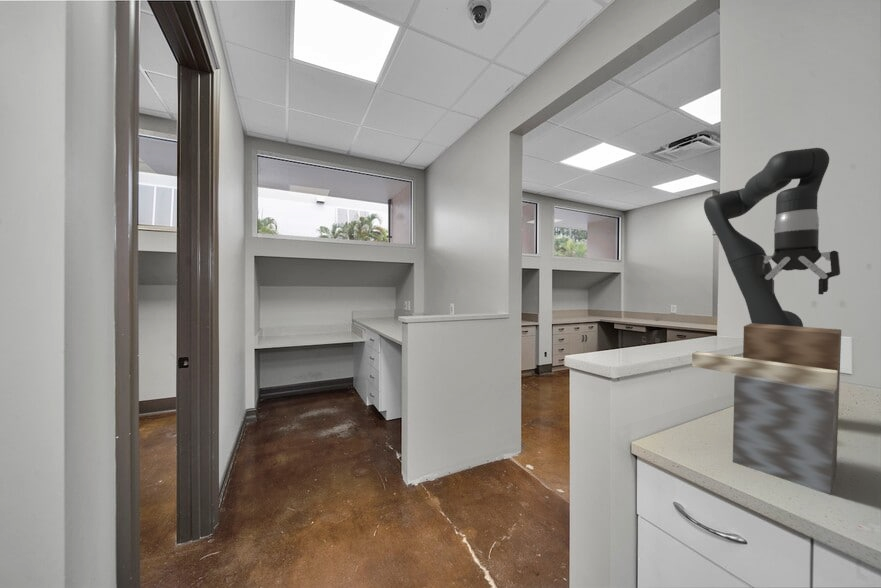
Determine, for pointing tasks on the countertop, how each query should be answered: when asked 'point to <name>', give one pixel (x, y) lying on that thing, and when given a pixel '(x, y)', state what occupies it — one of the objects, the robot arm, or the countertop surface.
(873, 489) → the countertop surface
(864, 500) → the countertop surface
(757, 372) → the ash bar
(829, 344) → the stepped pedestal
